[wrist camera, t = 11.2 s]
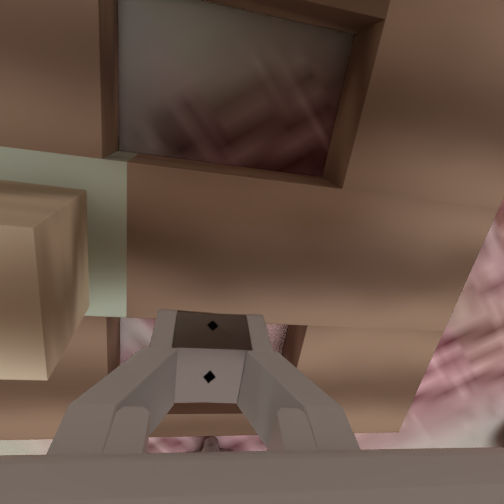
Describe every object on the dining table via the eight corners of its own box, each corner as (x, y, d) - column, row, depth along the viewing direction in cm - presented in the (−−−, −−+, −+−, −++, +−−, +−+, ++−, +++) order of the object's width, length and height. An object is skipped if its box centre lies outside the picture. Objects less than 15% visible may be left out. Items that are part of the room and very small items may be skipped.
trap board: (-185, -155, 12) (-531, -387, 6) (526, 24, 17) (679, -15, 12) (-42, 398, 21) (-126, 498, 16) (378, 399, 27) (423, 473, 21)
